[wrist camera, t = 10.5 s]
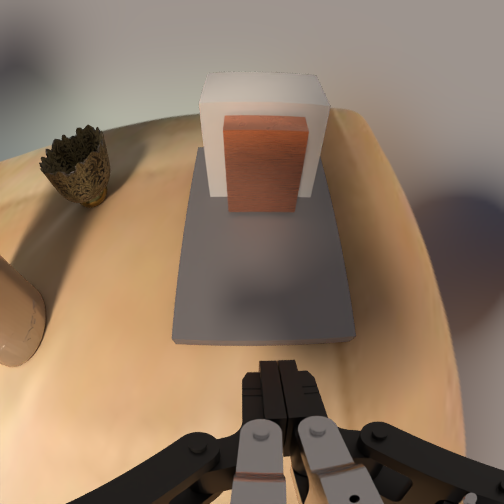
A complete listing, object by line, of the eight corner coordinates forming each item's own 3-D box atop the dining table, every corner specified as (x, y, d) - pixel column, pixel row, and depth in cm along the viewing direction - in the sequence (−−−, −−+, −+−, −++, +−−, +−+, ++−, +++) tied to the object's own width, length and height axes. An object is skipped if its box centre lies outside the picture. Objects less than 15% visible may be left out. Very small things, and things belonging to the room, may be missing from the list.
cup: (121, 168, 33) (102, 116, 27) (127, 209, 30) (103, 152, 23) (69, 189, 32) (43, 141, 25) (68, 232, 28) (34, 182, 21)
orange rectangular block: (228, 212, 27) (222, 130, 19) (232, 138, 33) (230, 69, 25) (294, 212, 27) (309, 131, 19) (284, 138, 33) (290, 70, 26)
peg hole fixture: (176, 344, 22) (119, 272, 12) (199, 157, 34) (188, 66, 24) (349, 341, 23) (422, 270, 12) (316, 158, 34) (333, 69, 24)
